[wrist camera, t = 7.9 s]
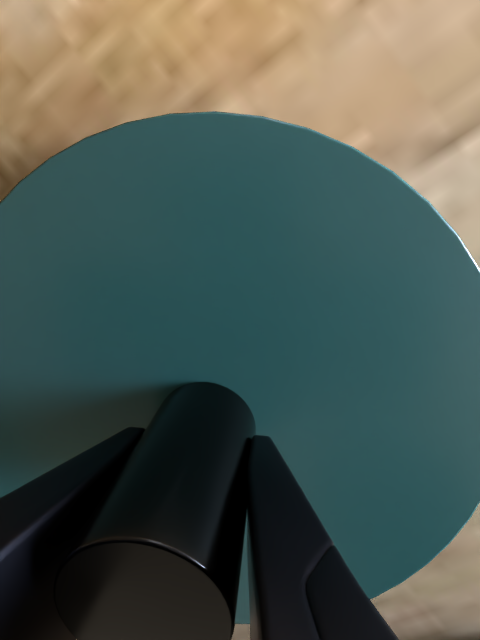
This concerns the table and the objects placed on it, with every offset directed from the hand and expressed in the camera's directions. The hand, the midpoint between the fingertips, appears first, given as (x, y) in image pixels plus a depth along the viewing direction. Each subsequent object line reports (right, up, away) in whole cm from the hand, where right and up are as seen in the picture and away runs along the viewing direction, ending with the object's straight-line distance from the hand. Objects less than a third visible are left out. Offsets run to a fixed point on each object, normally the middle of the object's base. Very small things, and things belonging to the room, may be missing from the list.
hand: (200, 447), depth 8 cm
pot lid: (0, 0, +1) cm, 1 cm away
